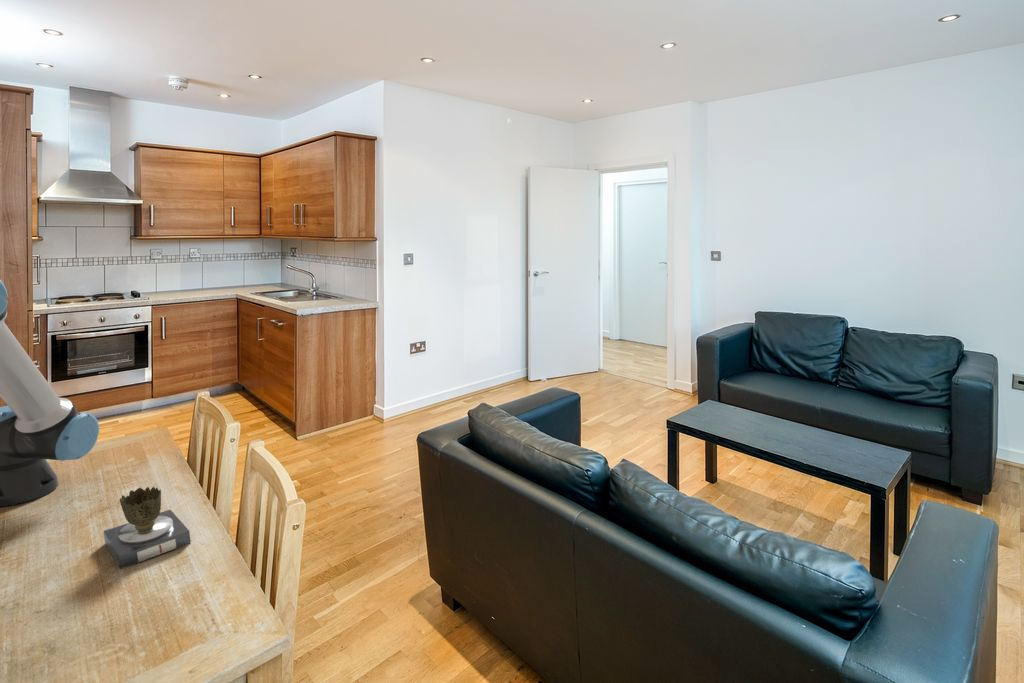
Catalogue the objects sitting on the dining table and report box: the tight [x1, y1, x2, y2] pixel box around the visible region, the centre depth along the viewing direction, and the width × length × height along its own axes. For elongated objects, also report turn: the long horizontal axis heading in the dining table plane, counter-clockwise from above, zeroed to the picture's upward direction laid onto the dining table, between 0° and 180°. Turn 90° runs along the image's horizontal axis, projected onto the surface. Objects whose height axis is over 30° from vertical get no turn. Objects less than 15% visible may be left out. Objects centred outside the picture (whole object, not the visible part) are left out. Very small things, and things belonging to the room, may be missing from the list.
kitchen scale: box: [103, 509, 191, 569], centre depth 120 cm, size 14×13×4 cm
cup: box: [119, 486, 162, 531], centre depth 119 cm, size 8×7×8 cm
